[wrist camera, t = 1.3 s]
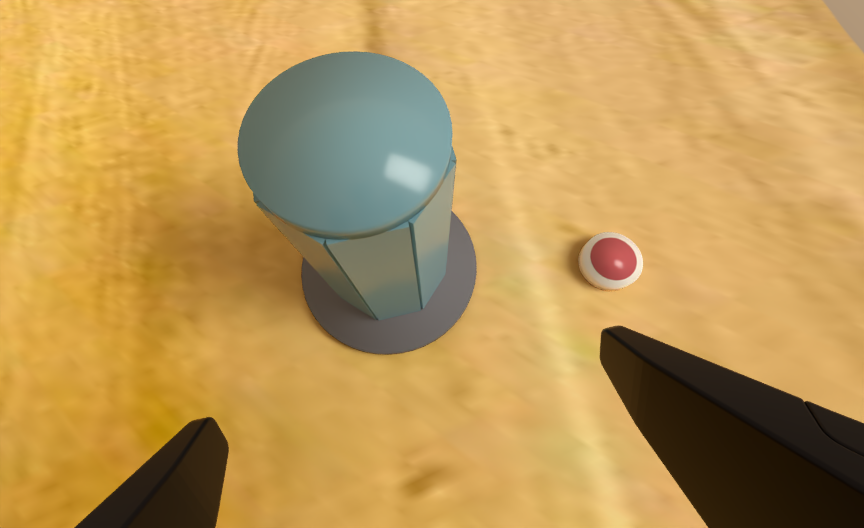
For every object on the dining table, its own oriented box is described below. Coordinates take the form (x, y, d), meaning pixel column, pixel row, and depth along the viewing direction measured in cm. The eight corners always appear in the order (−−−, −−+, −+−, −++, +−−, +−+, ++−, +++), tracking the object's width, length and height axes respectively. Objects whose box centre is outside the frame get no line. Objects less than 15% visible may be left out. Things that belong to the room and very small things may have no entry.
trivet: (369, 394, 22) (368, 394, 21) (271, 253, 25) (269, 251, 24) (511, 279, 24) (512, 277, 24) (406, 163, 27) (406, 160, 27)
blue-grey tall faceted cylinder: (405, 339, 22) (373, 270, 11) (313, 281, 24) (191, 162, 12) (462, 247, 24) (490, 103, 12) (375, 199, 26) (324, 24, 14)
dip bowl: (606, 303, 24) (615, 298, 23) (565, 261, 25) (572, 254, 24) (645, 269, 25) (655, 262, 23) (603, 229, 25) (612, 221, 24)
